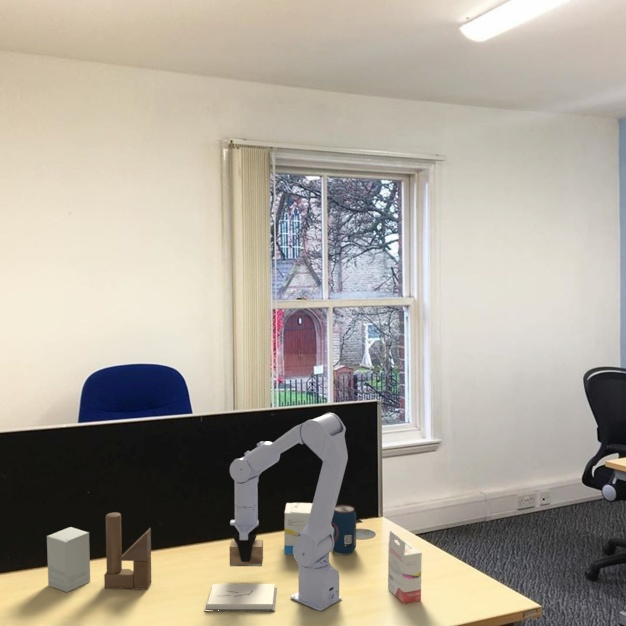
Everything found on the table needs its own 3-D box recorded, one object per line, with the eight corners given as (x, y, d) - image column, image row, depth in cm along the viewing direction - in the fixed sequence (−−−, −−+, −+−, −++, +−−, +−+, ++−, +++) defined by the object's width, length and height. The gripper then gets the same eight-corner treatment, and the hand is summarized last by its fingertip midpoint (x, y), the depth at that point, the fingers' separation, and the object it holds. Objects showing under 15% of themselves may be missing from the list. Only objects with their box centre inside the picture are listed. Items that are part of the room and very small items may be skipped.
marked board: (276, 588, 169) (276, 582, 169) (274, 611, 158) (274, 605, 158) (211, 588, 169) (211, 582, 169) (204, 611, 158) (204, 605, 158)
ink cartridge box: (422, 601, 163) (423, 540, 162) (403, 604, 162) (404, 543, 160) (404, 585, 171) (405, 527, 170) (386, 588, 170) (387, 530, 168)
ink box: (314, 555, 189) (315, 513, 188) (283, 554, 189) (283, 512, 188) (315, 542, 197) (315, 502, 197) (285, 541, 198) (285, 501, 197)
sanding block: (263, 558, 176) (262, 539, 176) (261, 566, 172) (261, 546, 172) (231, 558, 176) (231, 539, 176) (229, 566, 172) (229, 546, 172)
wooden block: (147, 590, 168) (146, 517, 167) (104, 589, 169) (102, 517, 167) (151, 583, 172) (150, 512, 171) (109, 582, 172) (107, 511, 171)
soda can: (327, 547, 194) (327, 505, 193) (350, 544, 196) (351, 502, 195) (335, 557, 187) (336, 513, 187) (359, 554, 190) (360, 511, 189)
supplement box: (91, 581, 173) (90, 532, 172) (66, 593, 166) (64, 542, 166) (72, 574, 177) (71, 525, 176) (47, 585, 170) (45, 535, 170)
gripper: (233, 494, 180) (233, 545, 181) (226, 514, 166) (227, 569, 167) (260, 494, 180) (260, 545, 181) (256, 514, 166) (256, 569, 167)
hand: (246, 556), depth 174 cm, fingers closed on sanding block, 4 cm apart
